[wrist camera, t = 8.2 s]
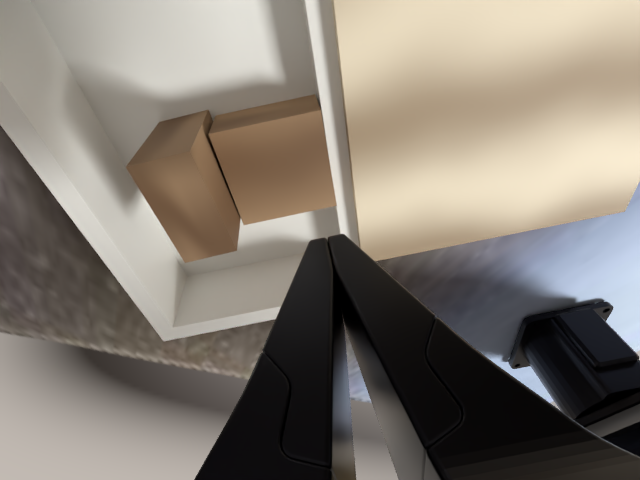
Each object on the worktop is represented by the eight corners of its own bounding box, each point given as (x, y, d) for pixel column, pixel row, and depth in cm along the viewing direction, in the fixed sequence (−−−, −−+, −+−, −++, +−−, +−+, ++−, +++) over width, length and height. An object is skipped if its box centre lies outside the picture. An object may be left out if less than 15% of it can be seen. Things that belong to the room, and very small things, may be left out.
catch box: (354, 247, 19) (371, 300, 16) (180, 281, 19) (163, 341, 16) (311, -96, 11) (329, -125, 7) (-4, -31, 11) (-119, -33, 7)
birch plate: (587, 186, 19) (624, 211, 17) (352, 233, 19) (362, 263, 17) (708, -133, 11) (802, -156, 9) (317, -53, 11) (327, -59, 9)
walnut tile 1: (236, 250, 13) (184, 263, 13) (243, 195, 16) (201, 205, 16) (189, 151, 10) (125, 167, 10) (208, 109, 13) (159, 121, 13)
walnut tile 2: (330, 182, 16) (336, 205, 14) (246, 200, 16) (243, 225, 14) (314, 94, 13) (320, 110, 12) (215, 115, 13) (208, 134, 12)
